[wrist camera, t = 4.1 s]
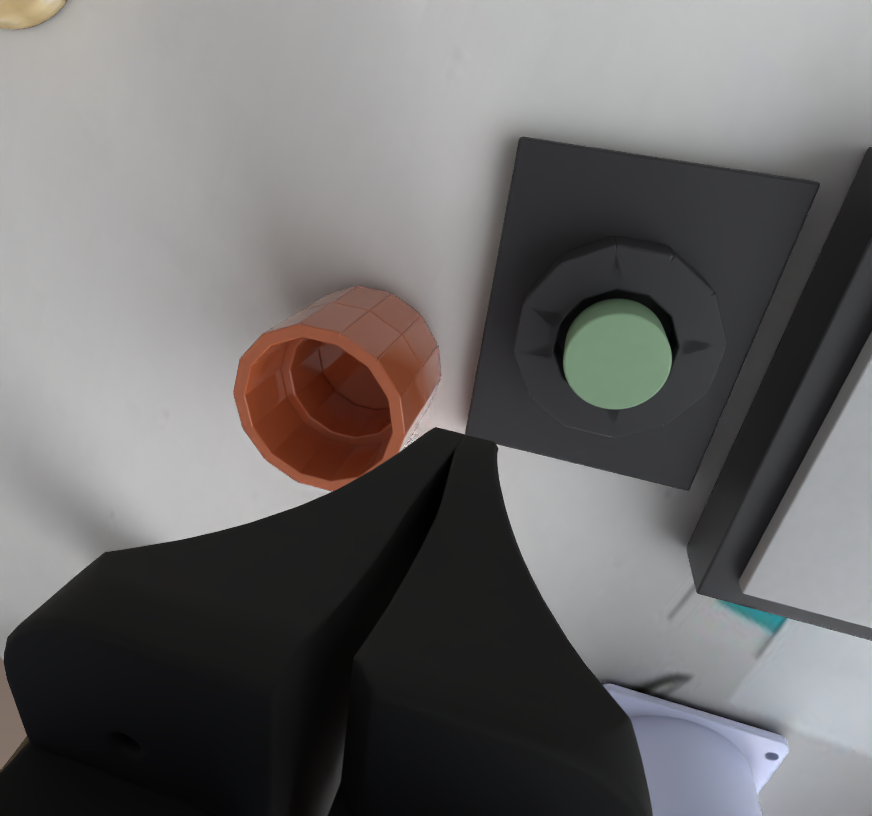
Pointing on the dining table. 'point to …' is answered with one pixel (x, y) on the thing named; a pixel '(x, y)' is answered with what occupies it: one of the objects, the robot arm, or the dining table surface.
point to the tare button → (616, 354)
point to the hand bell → (27, 12)
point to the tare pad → (634, 280)
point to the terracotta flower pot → (338, 386)
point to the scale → (805, 454)
